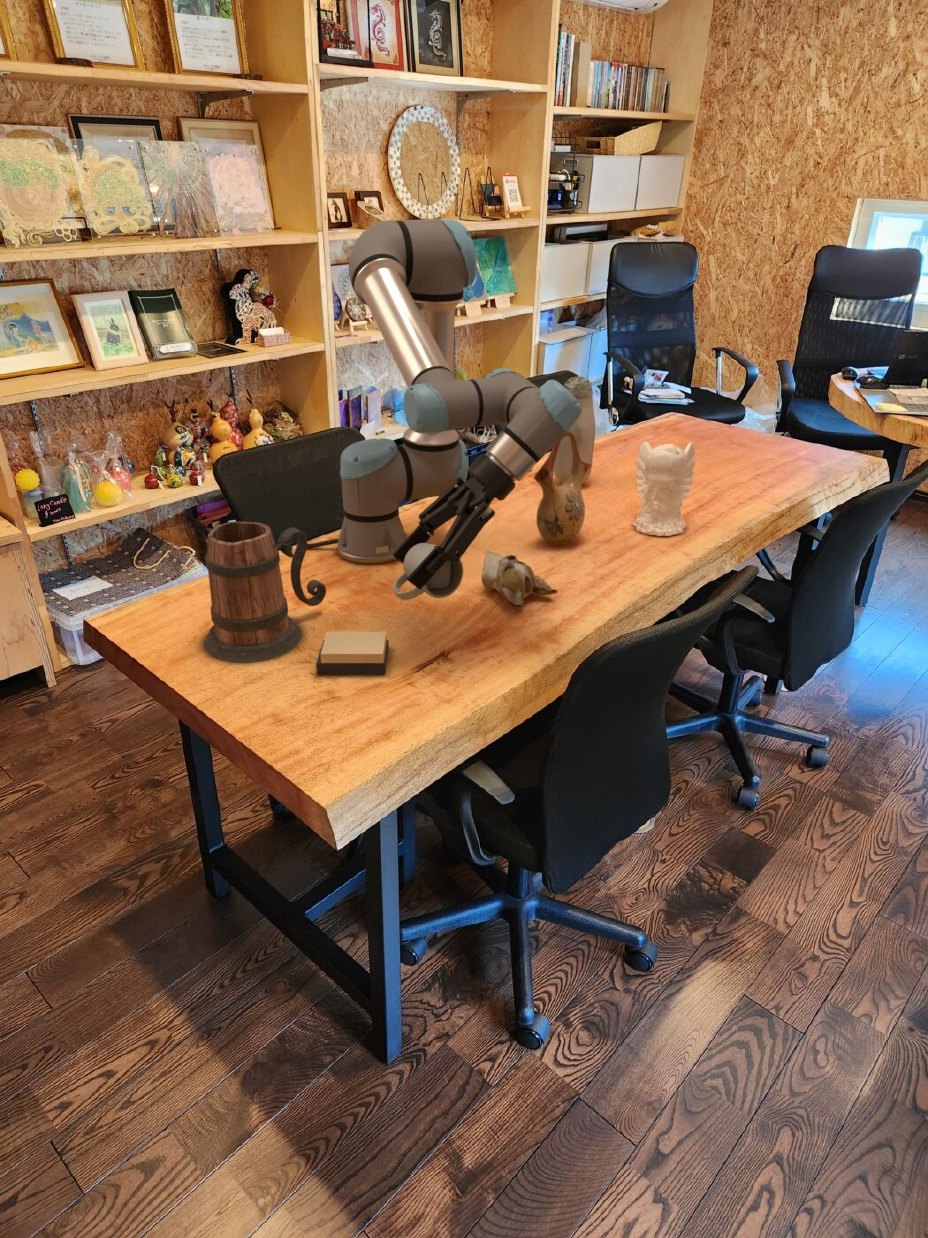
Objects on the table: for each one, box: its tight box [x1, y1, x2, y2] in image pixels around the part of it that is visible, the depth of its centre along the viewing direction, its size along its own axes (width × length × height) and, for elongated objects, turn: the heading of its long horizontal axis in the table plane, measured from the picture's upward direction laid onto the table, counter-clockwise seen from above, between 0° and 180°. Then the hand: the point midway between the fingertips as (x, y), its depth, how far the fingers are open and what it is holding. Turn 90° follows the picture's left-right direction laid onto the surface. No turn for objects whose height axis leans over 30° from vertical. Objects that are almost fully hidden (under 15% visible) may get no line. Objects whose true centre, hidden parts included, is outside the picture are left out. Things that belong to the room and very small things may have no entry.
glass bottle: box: [553, 376, 596, 485], centre depth 211 cm, size 10×10×28 cm
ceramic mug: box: [392, 542, 464, 601], centre depth 134 cm, size 11×8×8 cm
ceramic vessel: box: [533, 431, 591, 547], centre depth 177 cm, size 16×9×25 cm, turn 132°
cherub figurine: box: [632, 441, 696, 537], centre depth 187 cm, size 13×12×20 cm
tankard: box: [203, 521, 327, 664], centre depth 142 cm, size 24×17×20 cm
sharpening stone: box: [315, 631, 390, 676], centre depth 136 cm, size 11×8×4 cm
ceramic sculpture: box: [481, 550, 559, 609], centre depth 157 cm, size 11×9×15 cm
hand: (405, 571), depth 133 cm, fingers closed on ceramic mug, 9 cm apart
